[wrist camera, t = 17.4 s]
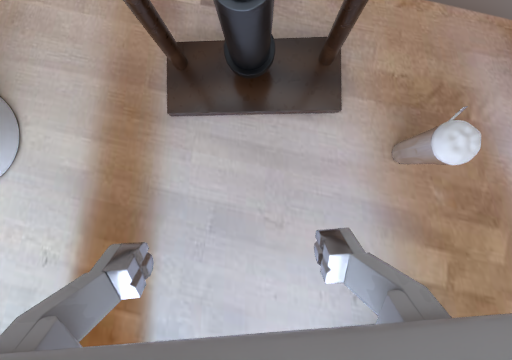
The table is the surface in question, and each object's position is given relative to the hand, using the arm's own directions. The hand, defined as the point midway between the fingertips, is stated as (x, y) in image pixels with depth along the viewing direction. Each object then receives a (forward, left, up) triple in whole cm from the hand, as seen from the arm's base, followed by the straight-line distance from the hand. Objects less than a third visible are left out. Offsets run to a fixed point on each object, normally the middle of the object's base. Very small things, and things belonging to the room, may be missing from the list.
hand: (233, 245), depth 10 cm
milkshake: (+19, +11, -20) cm, 30 cm away
